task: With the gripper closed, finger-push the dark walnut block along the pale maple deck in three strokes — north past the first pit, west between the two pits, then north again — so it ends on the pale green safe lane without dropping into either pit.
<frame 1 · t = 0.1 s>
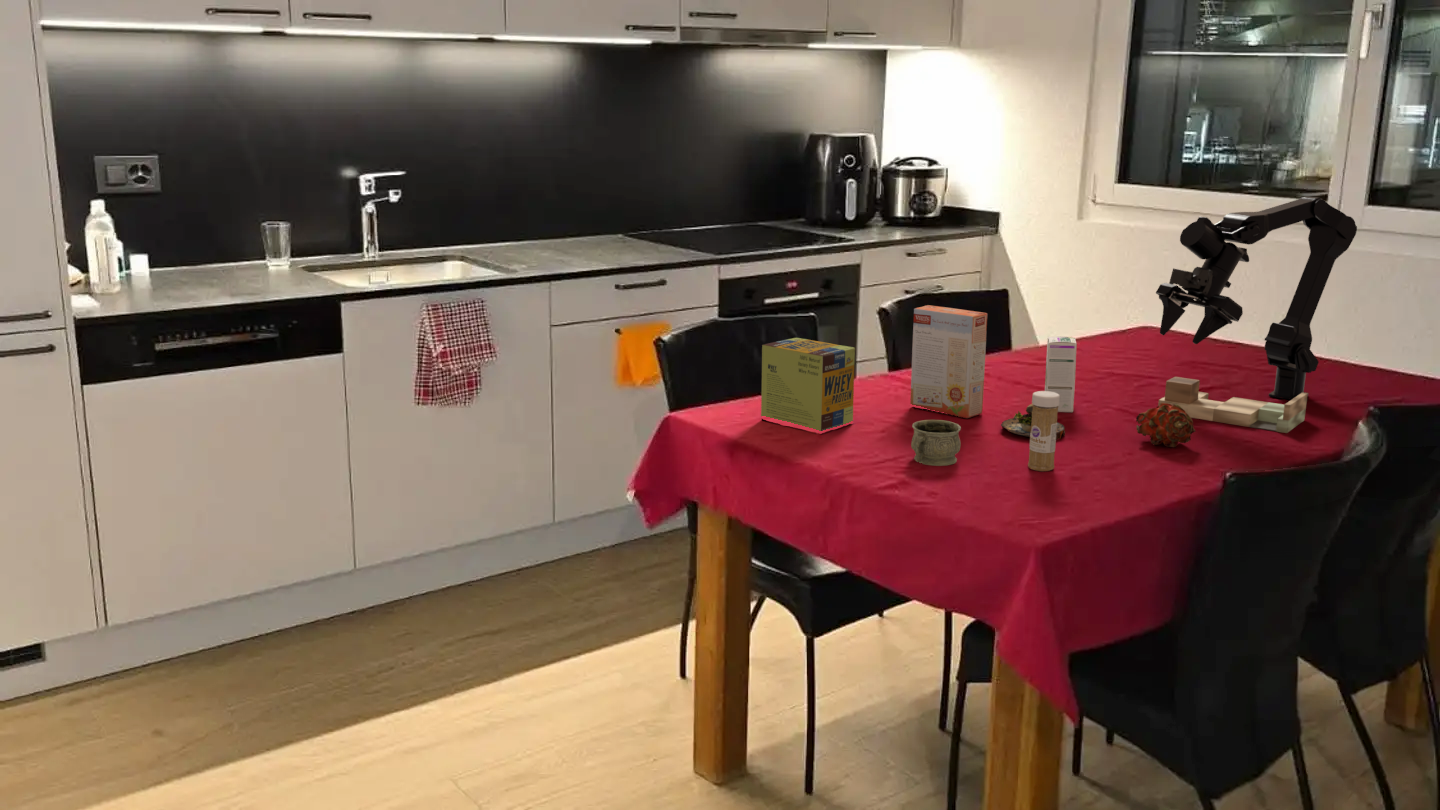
hand: (1177, 338, 257), 15 cm above the table, tool tilted 30°, fingers open, 9 cm apart
protein box: (806, 423, 252), on the table
vessel: (935, 460, 229), on the table
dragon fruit: (1161, 445, 238), on the table
sprinkles bottle: (1041, 469, 224), on the table
syrup box: (1057, 409, 263), on the table
trap deck: (1230, 416, 257), on the table
cracker box: (945, 411, 261), on the table
plate with green herbs: (1032, 435, 245), on the table
walnut block: (1181, 399, 260), point 2 cm above the table, touching trap deck
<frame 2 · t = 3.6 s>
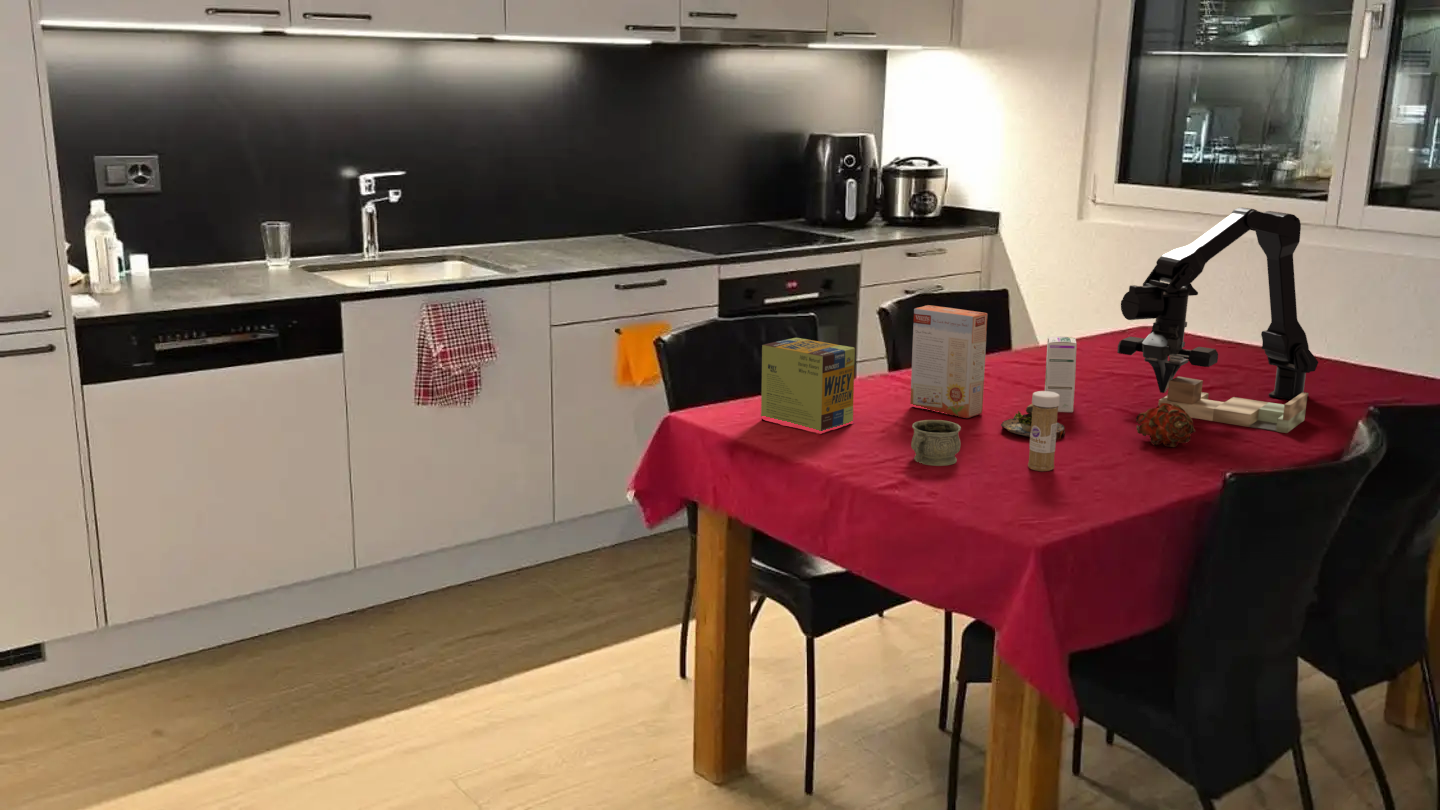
hand: (1162, 392, 262), 3 cm above the table, tool pointing down, fingers closed
walnut block: (1183, 399, 259), point 3 cm above the table, touching gripper
everything else where it was.
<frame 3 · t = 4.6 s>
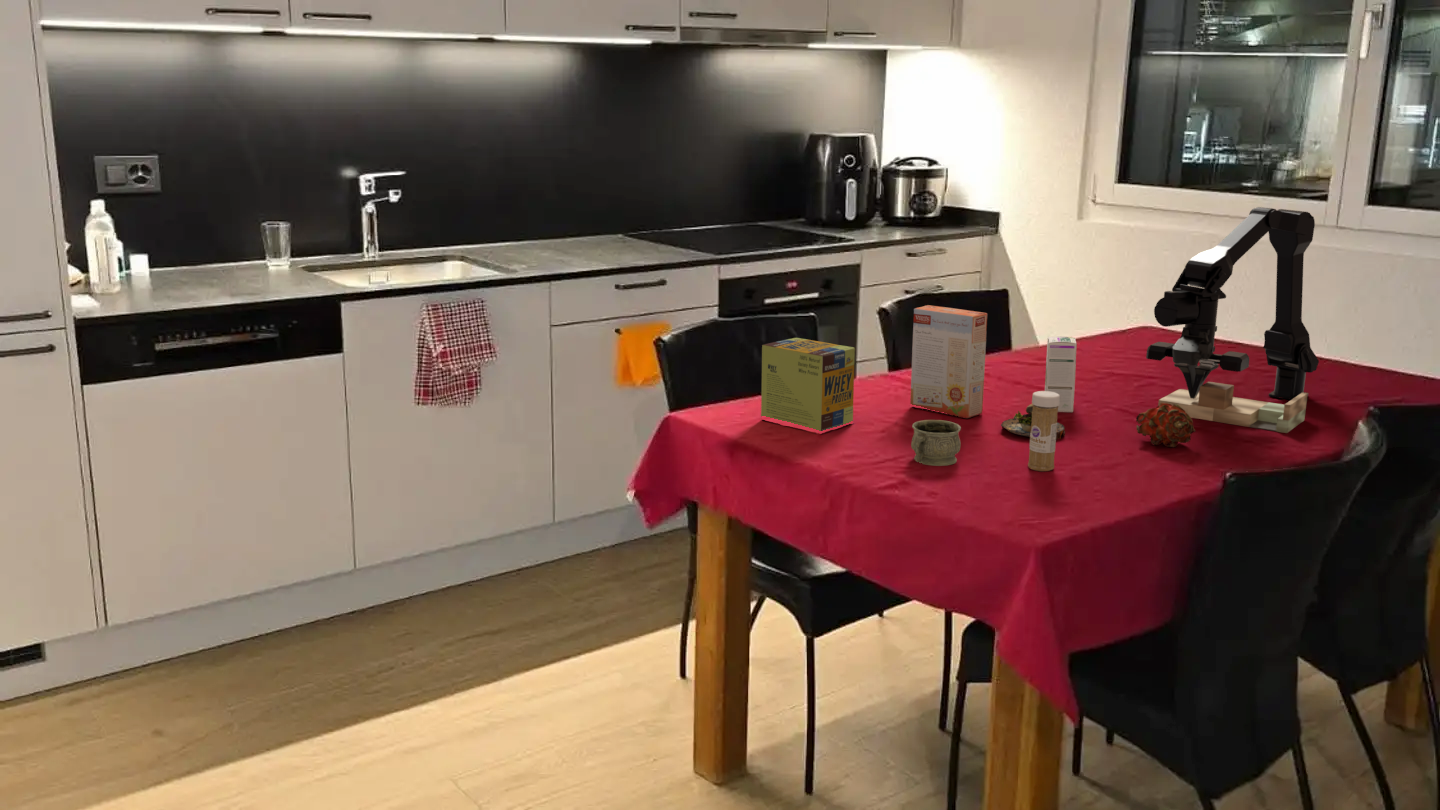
hand: (1193, 398, 258), 3 cm above the table, tool pointing down, fingers closed
walnut block: (1215, 405, 255), point 2 cm above the table, touching gripper, trap deck
everything else where it was.
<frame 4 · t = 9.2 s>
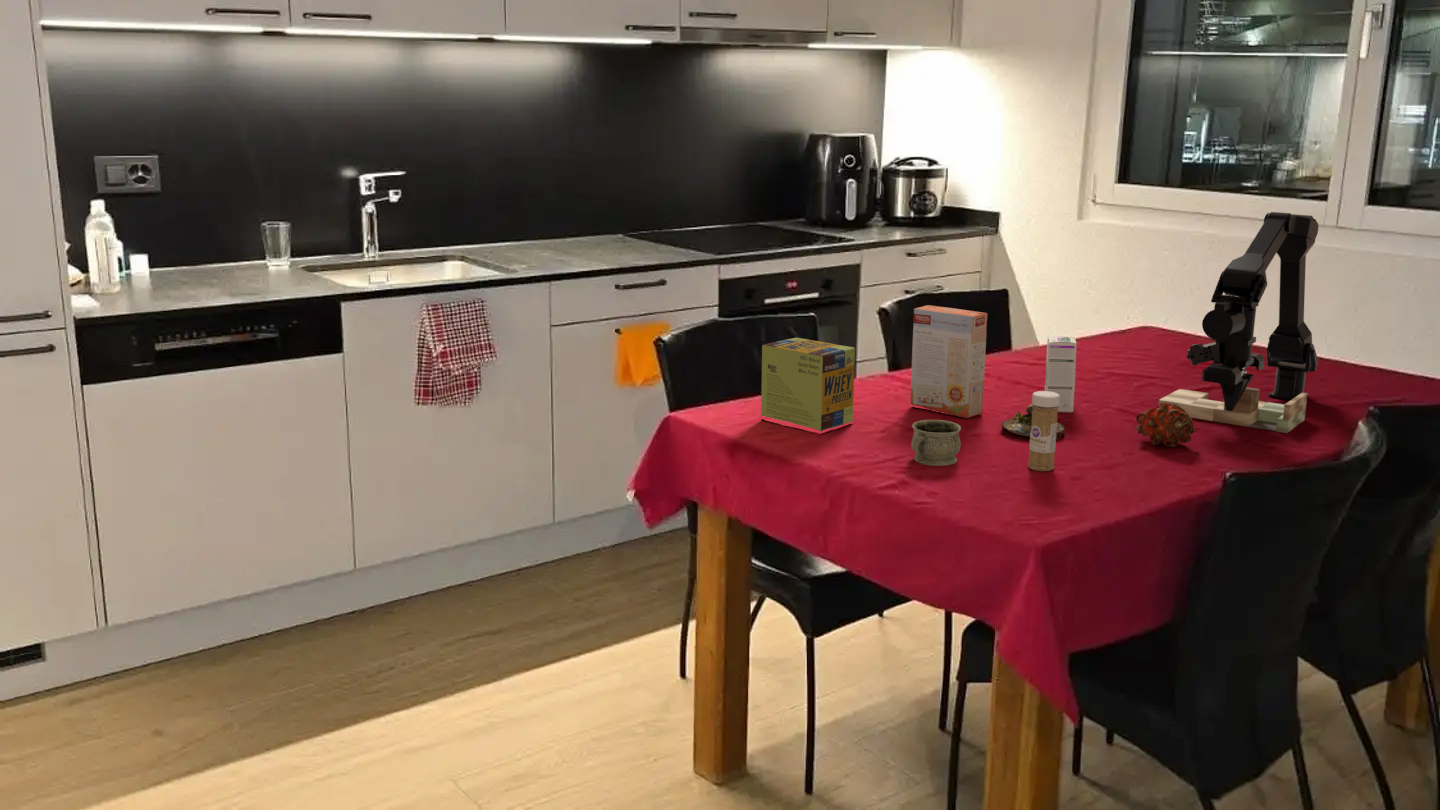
hand: (1229, 410, 249), 3 cm above the table, tool pointing down, fingers closed
walnut block: (1240, 409, 252), point 3 cm above the table, touching gripper, trap deck
everything else where it was.
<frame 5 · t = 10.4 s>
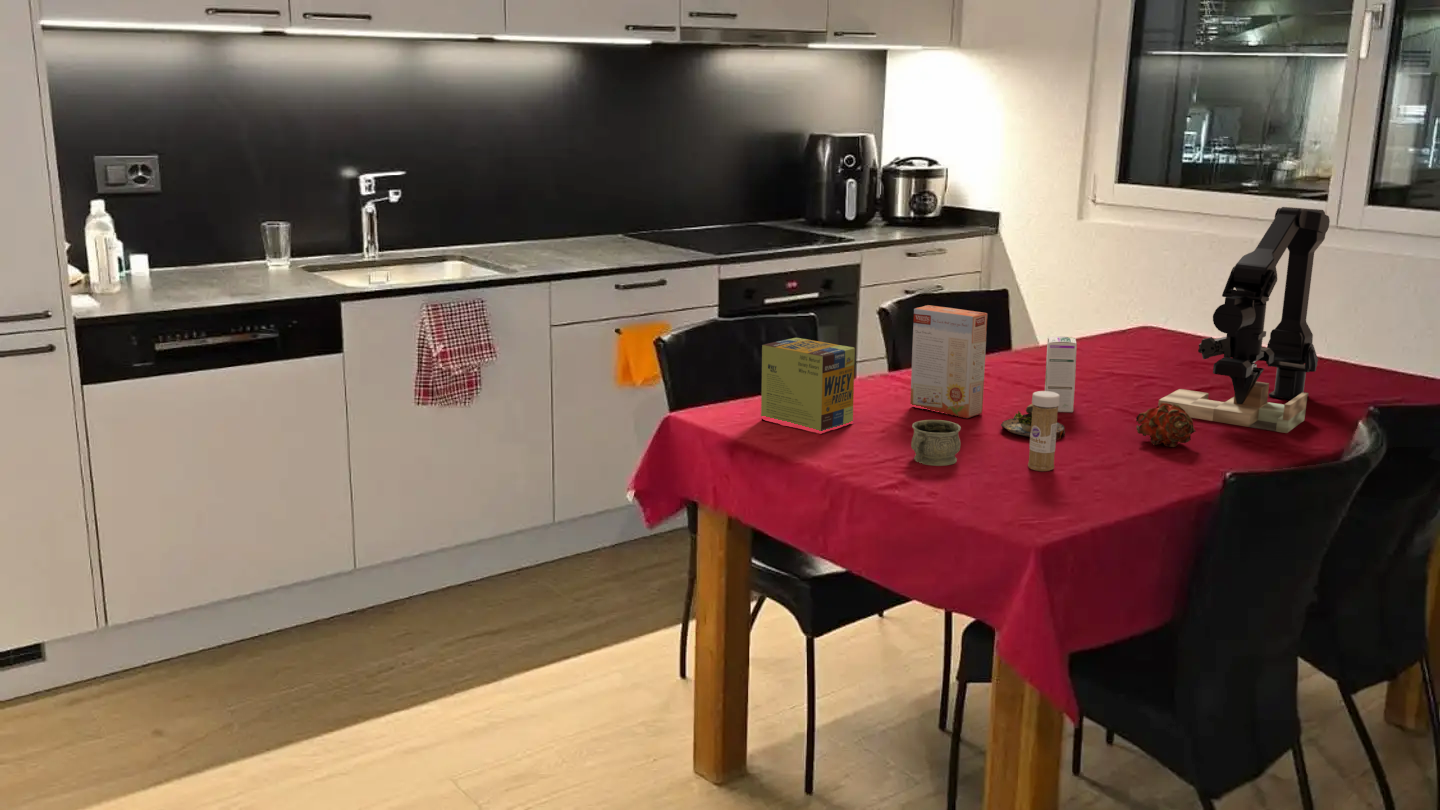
hand: (1239, 403, 254), 3 cm above the table, tool pointing down, fingers closed
walnut block: (1250, 403, 257), point 3 cm above the table, touching gripper
everything else where it was.
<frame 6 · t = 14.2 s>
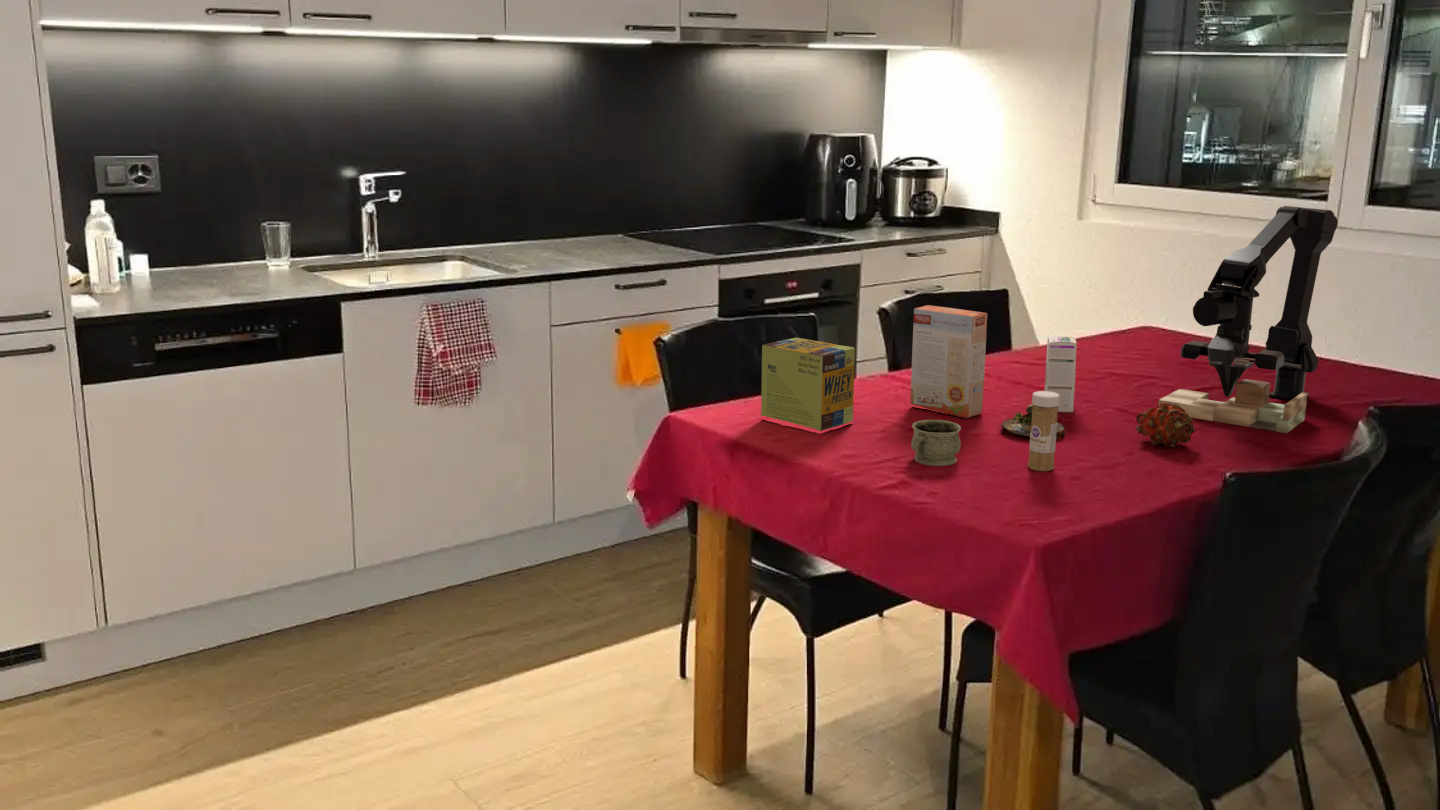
hand: (1227, 396, 260), 3 cm above the table, tool pointing down, fingers closed
walnut block: (1251, 402, 258), point 2 cm above the table, touching gripper, trap deck
everything else where it was.
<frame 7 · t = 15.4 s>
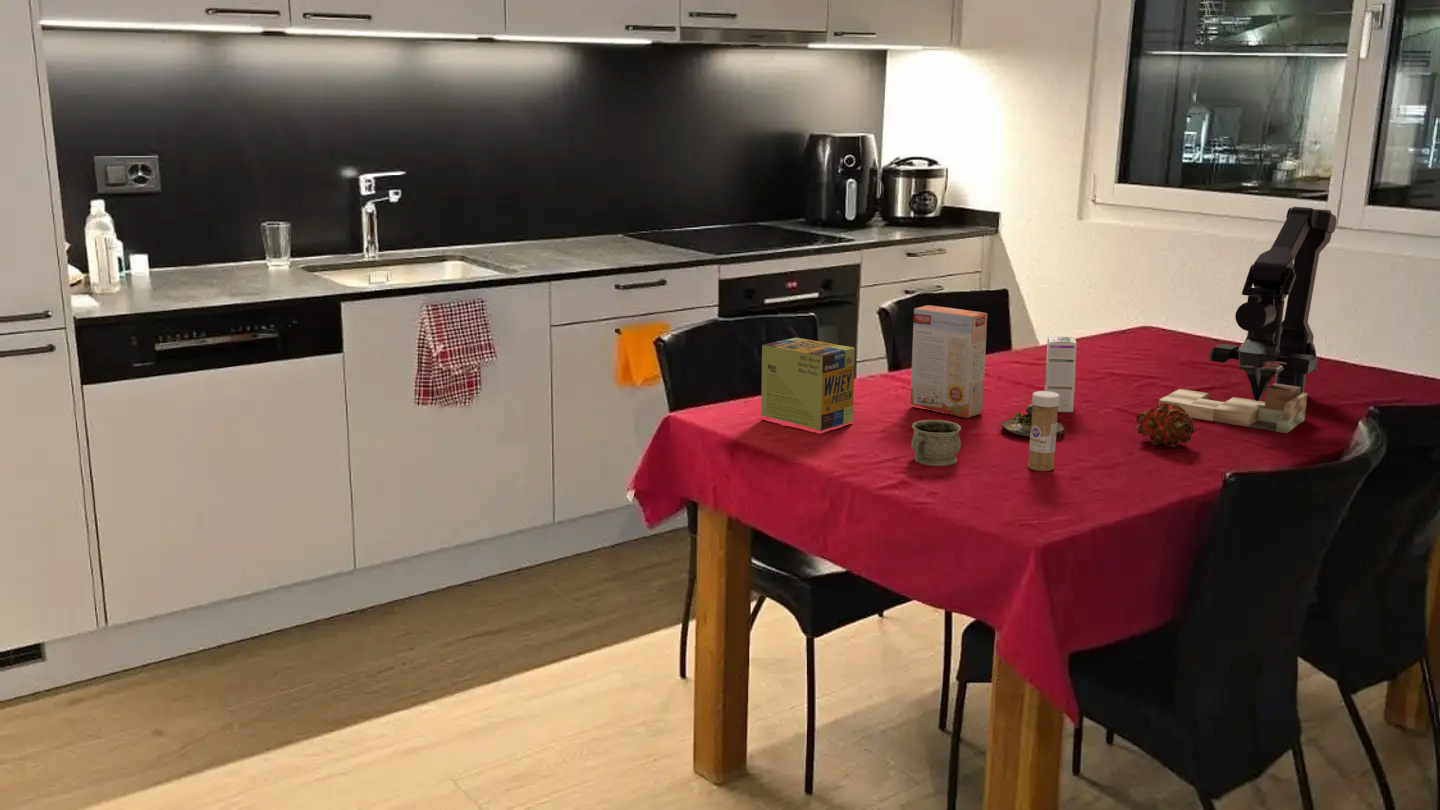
hand: (1257, 400, 256), 3 cm above the table, tool pointing down, fingers closed
walnut block: (1281, 407, 254), point 3 cm above the table, touching gripper
everything else where it was.
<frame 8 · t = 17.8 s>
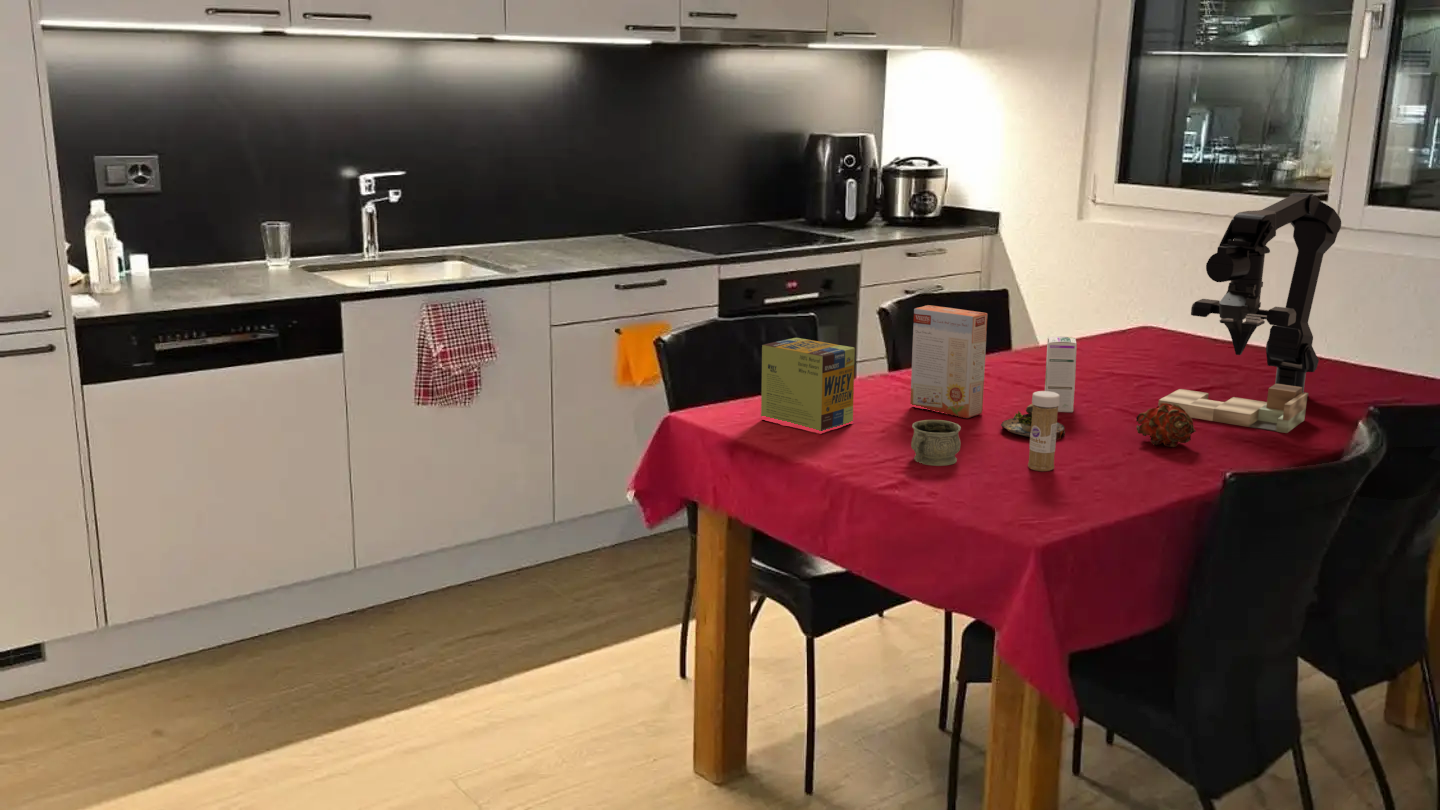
hand: (1238, 354, 256), 12 cm above the table, tool pointing down, fingers closed
walnut block: (1283, 407, 254), point 2 cm above the table, touching trap deck
everything else where it was.
at the end: walnut block 1.5 cm from the target spot, point 2.5 cm above the table; walnut block tilted 0° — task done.
